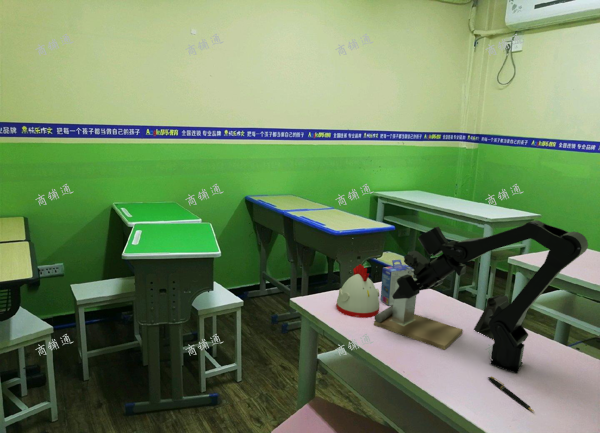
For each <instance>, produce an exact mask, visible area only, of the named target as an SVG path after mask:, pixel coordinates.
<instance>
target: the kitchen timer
mask: <svg viewBox="0 0 600 433" xmlns="http://www.w3.org/2000/svg"><path fill="white" fill-rule="evenodd" d="M369 276H370V273H368V268H365V266H364V265H362V264H358V265H357V266H355V267H354V268H353V275H352V276H350V277H349V278H348V279H347V280H346V281H345V282H344V283H343V285H342V287H341V288H339V290H338V296H337V299H336V306H335V307H336V309H337V311H338V312H339V313H341V314H343V315H345V316H348V317H351V318H359V319H362V318H363V319H366V318H367V319H368V318H372V317H375V315H377V314H379V313H380V306H381V305H380V299H379V297H380V290H379V288H376V286H375V284H374V282H373V281H372V280H371V279H370V278H369Z"/></svg>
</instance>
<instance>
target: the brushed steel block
mask: <svg viewBox="0 0 600 433" xmlns="http://www.w3.org/2000/svg"><path fill="white" fill-rule="evenodd" d="M399 278H400V276H399V277H397V279H399ZM413 279H414V280H415V281H416V280H417V279H416V277H415V278H414V277H413ZM417 285H418V284H417ZM398 287H399V285H398V283H397V280H396V284H395V291H396V290H397V289H398ZM416 303H417V295H416V296H414V297H412V298H410V299H408V298H403V299H394V303H393V313H392V321H395V322H397V323H400V324H402V325H404V324H406V323H408V322H410V321H412V320H414V314H415V310H416Z"/></svg>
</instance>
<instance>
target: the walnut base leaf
mask: <svg viewBox="0 0 600 433" xmlns="http://www.w3.org/2000/svg"><path fill="white" fill-rule="evenodd" d="M392 313H393V305H390V306H389V307H387V308H385V309H384V310H382V311H381V312H380V311H379V313H378V314H377V315H375V316H374V321H373V325H374V326H376V327H378V328H381V329H384V330H387V331H391V332H393V333H395V334H398V335H401V336H404V337H407V338H409V339H413V340H415V341H418V342H421V343H424V344H427V345H429V346H432V347H435V348H438V349H441V350H443V351H446V349H447V348H449V347H450V346H451V344H453V343H454V342H455V341H456V340H457V339H458V338H459V337H461V335H463V332H464V329H463V328H459V327H456V326H453V325H450V324H447V323H443V322H440V321H437V320H435V319H431V318H427V317H424V316H421V315H418V314H415V313H414V320H412V321H410V322H408V323H406V324H404V325H402V324H400V323H397V322H395V321H392Z"/></svg>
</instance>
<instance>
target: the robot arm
mask: <svg viewBox="0 0 600 433" xmlns="http://www.w3.org/2000/svg"><path fill="white" fill-rule="evenodd" d="M529 239H531V240H532V241H535V242H536V243H538V244H539V245H541V246H543V247H544V248H546V249H548V252H547V255H546V258H545V260H544V263H543V264H542V265H541V266H540V268H538V270H537V271H536V272H535V274H534V275H533V276H532V277H531V279H530V280H529V281H528V282H527V283H526V284H525V285H524V287H523V288H522V289H521V291H520V292H519V293H518V294H517V296H516V297H515V298H514V299H513V301H511V303H510V302H509V301H505V302H504V303H502V304H501V305H499V306H498V307H497V309H496V311H495V313H494V314H493V315H491V316H490V317H489V318H491V320H490V321H489V328H490V331H491V332H492V334H493V338H494V340H493V341H494V342H493V344H492V348H491V355H490V359H491V360H490V365H492V366H494V367H497V368H500V369H503V370H505V371H508V372H512V373H514V374H518V372H519V371H520V369H521V368H522V366H523V364H524V363H523V361H522V360H523V355H524V349H525V344H524V342H525V341H526V340H527V338H528V337H529V333H528V331H527V330H526V329H525V327H524V326H523V324H522V323H523V322H524V320H525V319H526V318H525V317H526V315H527V311H528V310H529V309H530V308H531V306H532V305H533V304H534V303H535V302H536V301H537V299H538V298H540V297H541V295H542V294H543V293H544V291H546V289H547V288H548V287H549V285H550V284H552V282H553V281H554V280H555V279H556V277H557V276H558V275H559V274H560V273H561V272H562V270H563V269H565V268H566V267H567V266H569V265H570V264H571V263H573V262H574V261H576V260H577V259H578V258H579V257H580V256H582V255H583V254H584V253H586V251H587V250H588V247H589V243H588V239H587V237H586V236H585V235H583V234H582V233H581V232H578V231H567V230H565V229H563V228H560V227H556V226H553V225H550V224H547V223H544V222H542V221H540V220H538V219H536V220H535V219H534V220H532V221H529V222H526V223H525V224H522V225H520V226H517V227H513V228H510V229H507V230H504V231H501V232H498V233H495V234H491V235H489V236H484V237H483V236H481V237H473V238H467V239H464V240H461V241H457V240H453V241H452V240H451V241H449V240H448V239H447V238H446V236H445V235H444V233H443V232H442V230H441V228H440V226H434V227H433V228H432V229H430V230H428V231H426V232H423V233H422V234H420V235H419V236H418V237H417V240H418V241H419V243H420V244H421V246H422V247H423V249H424V250H425V252H426V253H427V254H428V256H433V257H436V256H438V255H439V256H438V257H436V258H434V259H432V260H430V261H429V260H428V259H427V258H426V257H425V256H424V255H422V254H421V253H420V252H419V251H418V250H412V251H409V252H408V253H406V255H405V256H403V258H404V259H403V263H404V265H407V266H409V267H411V268H413V269H414V271H413V273H414V276H415V278H416V279H417V280H416V281H415V280H414V279H413V278H414V276H413V277H412V276H411V275H408V274H407V275H404V276H402V277H400V278H399V279H397V283H398V285H399V287H398V289H397V290H396V291H395V293H394V294H393V296H392V297H393V299H403V298H408V299H410V298H412V297H414V296H416V297H417V295H419V294H420V291H424V290H430V289H433V288H436V287H438V286H440V285H442V284H443V283H444V279H445V280H446V278H447V277H448V276H449V275H451V274H453V273H455V272H456V275H457V276H462V275H464V274H466V268H467V265H466V263H469V262H471V261H474V260H476V259H477V258H480V257H481V256H483V255H485V254H487V253H489V252H491V251H494V250H497V249H500V248H501V249H502V248H504V247H507V246H510V245H515V244H517V243H520V242H521V243H522V242H523V241H527V240H529ZM441 253H442V254H441ZM417 284H418V285H417Z"/></svg>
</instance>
